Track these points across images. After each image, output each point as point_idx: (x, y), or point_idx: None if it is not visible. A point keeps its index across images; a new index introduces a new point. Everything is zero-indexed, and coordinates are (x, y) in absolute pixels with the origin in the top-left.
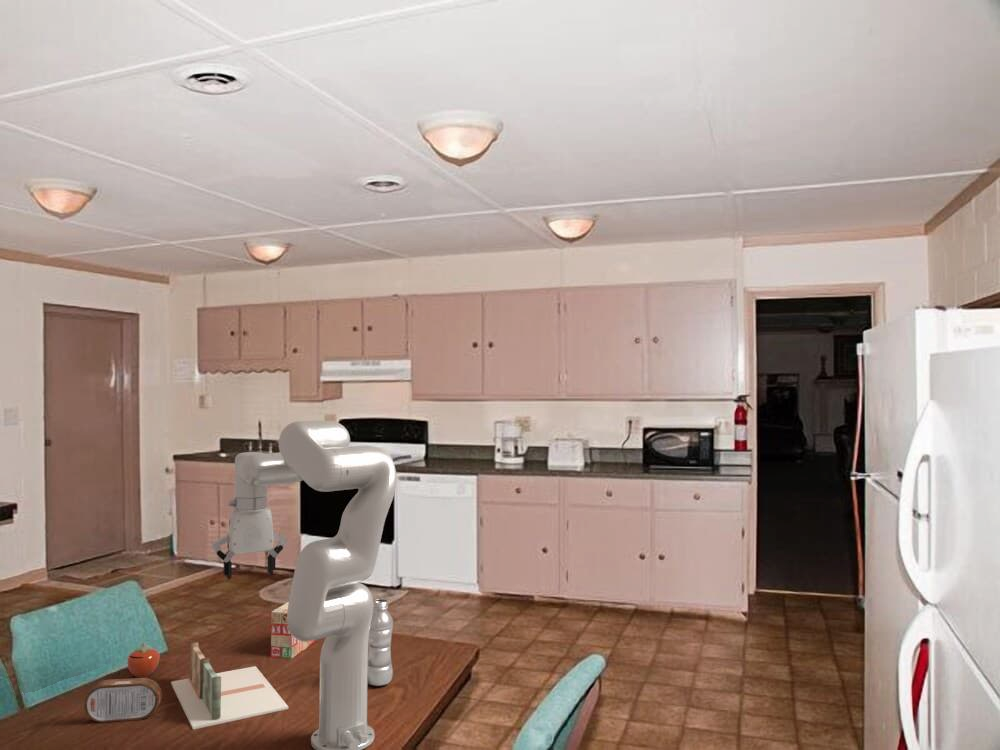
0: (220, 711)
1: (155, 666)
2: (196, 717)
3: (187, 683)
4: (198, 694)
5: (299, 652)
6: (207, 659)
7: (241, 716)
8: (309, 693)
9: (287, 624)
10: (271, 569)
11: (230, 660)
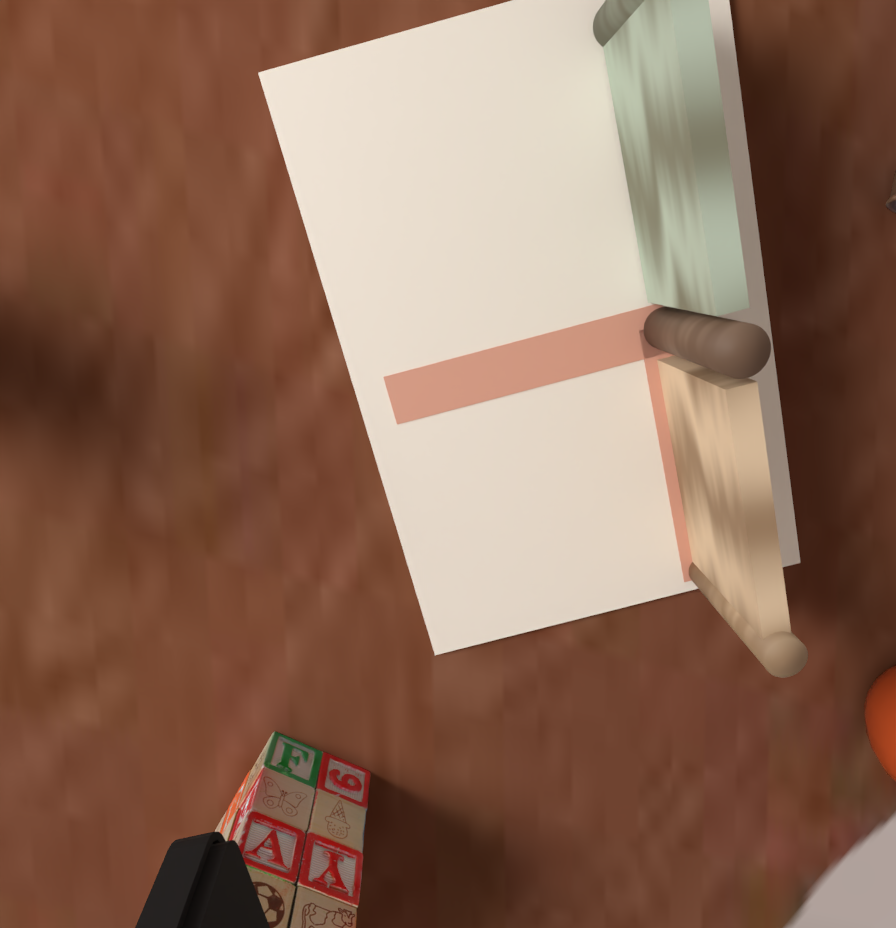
0: (600, 11)
1: (879, 693)
2: None
3: None
4: None
5: (239, 789)
6: (729, 346)
7: (490, 8)
8: (163, 260)
9: (261, 868)
10: (177, 908)
11: (545, 766)
